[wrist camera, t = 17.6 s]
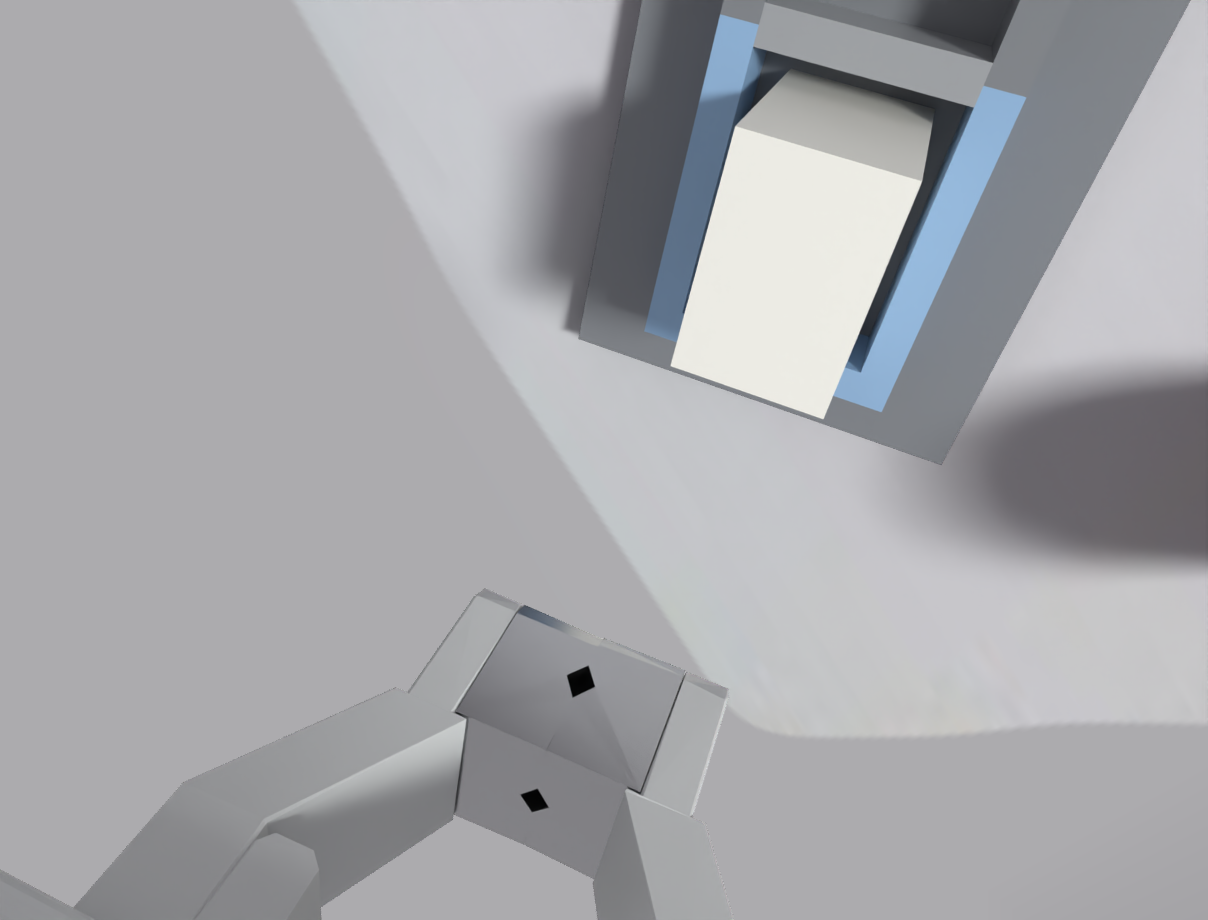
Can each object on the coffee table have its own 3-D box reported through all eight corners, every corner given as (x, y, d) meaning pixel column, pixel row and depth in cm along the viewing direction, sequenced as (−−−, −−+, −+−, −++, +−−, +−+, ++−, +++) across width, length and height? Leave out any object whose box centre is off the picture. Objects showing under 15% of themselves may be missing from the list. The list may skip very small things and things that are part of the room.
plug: (791, 68, 24) (735, 126, 18) (934, 109, 23) (922, 181, 18) (731, 268, 27) (670, 365, 22) (854, 308, 27) (823, 419, 21)
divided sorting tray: (779, -659, 18) (743, -757, 15) (1480, -567, 15) (1589, -662, 13) (588, 327, 31) (551, 370, 29) (942, 449, 29) (938, 508, 26)
